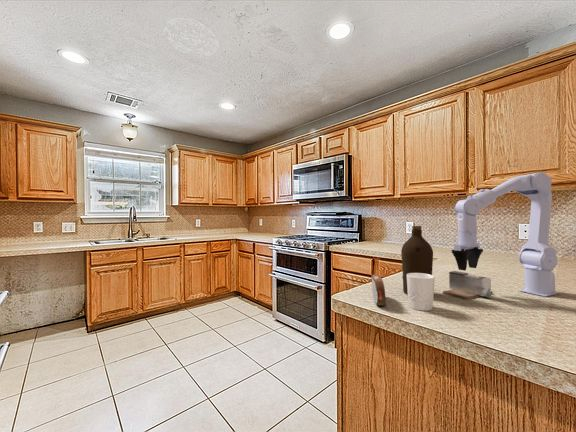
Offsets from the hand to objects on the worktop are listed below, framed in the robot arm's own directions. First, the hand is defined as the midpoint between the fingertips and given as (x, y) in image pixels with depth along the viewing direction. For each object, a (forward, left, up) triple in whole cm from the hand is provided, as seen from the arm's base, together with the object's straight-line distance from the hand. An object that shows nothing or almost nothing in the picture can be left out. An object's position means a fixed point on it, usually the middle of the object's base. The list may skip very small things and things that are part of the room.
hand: (467, 268), depth 97 cm
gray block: (0, 0, -8) cm, 8 cm away
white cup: (+28, +2, -9) cm, 30 cm away
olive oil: (+16, -9, -9) cm, 20 cm away
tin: (+36, -8, -9) cm, 38 cm away
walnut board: (0, 0, -9) cm, 9 cm away
